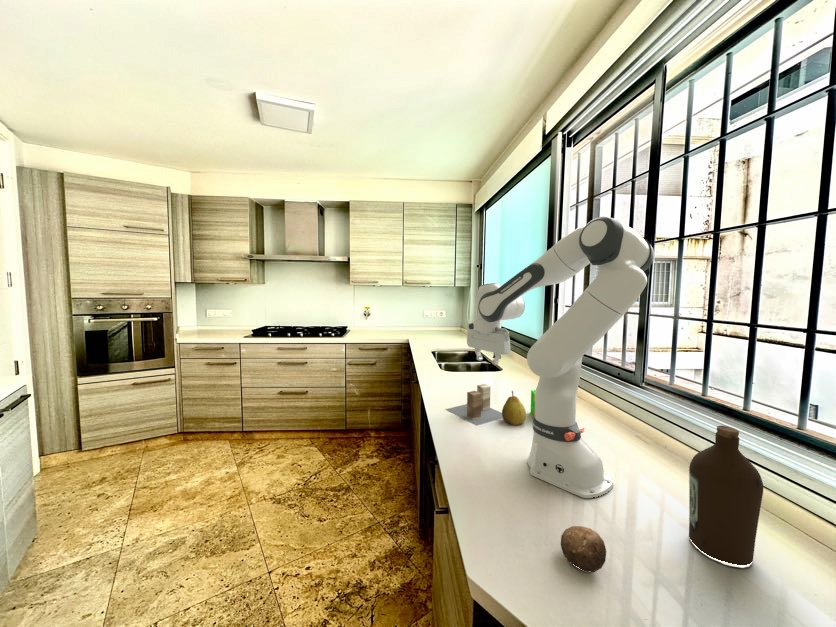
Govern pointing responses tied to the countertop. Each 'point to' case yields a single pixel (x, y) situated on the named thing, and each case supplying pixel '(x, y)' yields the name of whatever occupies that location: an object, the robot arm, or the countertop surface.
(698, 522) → the olive oil
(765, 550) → the countertop surface
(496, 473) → the countertop surface
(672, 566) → the countertop surface
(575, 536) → the brown potato
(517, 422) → the fruit
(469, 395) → the walnut block
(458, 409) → the mat
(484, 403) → the ash block
